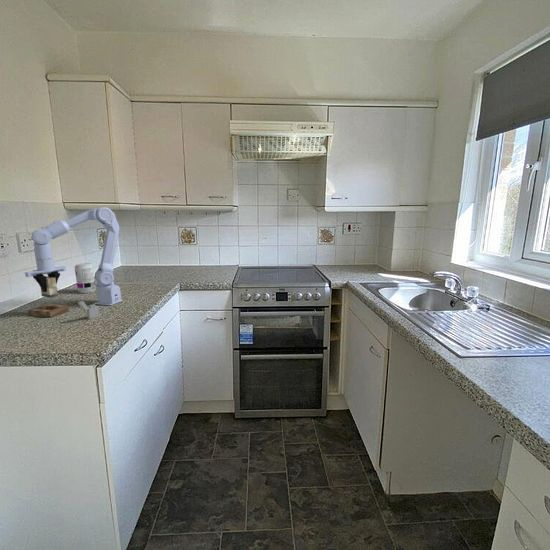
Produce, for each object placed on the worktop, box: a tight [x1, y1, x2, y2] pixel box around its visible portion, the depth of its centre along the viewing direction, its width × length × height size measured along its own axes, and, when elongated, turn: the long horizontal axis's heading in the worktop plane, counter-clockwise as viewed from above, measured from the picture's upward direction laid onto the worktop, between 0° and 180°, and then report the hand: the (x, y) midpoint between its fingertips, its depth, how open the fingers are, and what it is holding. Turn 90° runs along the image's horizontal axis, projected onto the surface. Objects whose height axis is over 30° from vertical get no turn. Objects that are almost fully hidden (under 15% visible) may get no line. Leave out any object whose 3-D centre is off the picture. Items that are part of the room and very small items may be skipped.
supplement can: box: [74, 262, 97, 294], centre depth 164 cm, size 8×8×15 cm
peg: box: [40, 276, 59, 299], centre depth 130 cm, size 3×6×8 cm, turn 65°
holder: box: [28, 303, 70, 318], centre depth 131 cm, size 11×8×2 cm
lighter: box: [77, 300, 100, 320], centre depth 124 cm, size 7×2×8 cm, turn 156°
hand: (49, 290), depth 131 cm, fingers closed on peg, 3 cm apart
